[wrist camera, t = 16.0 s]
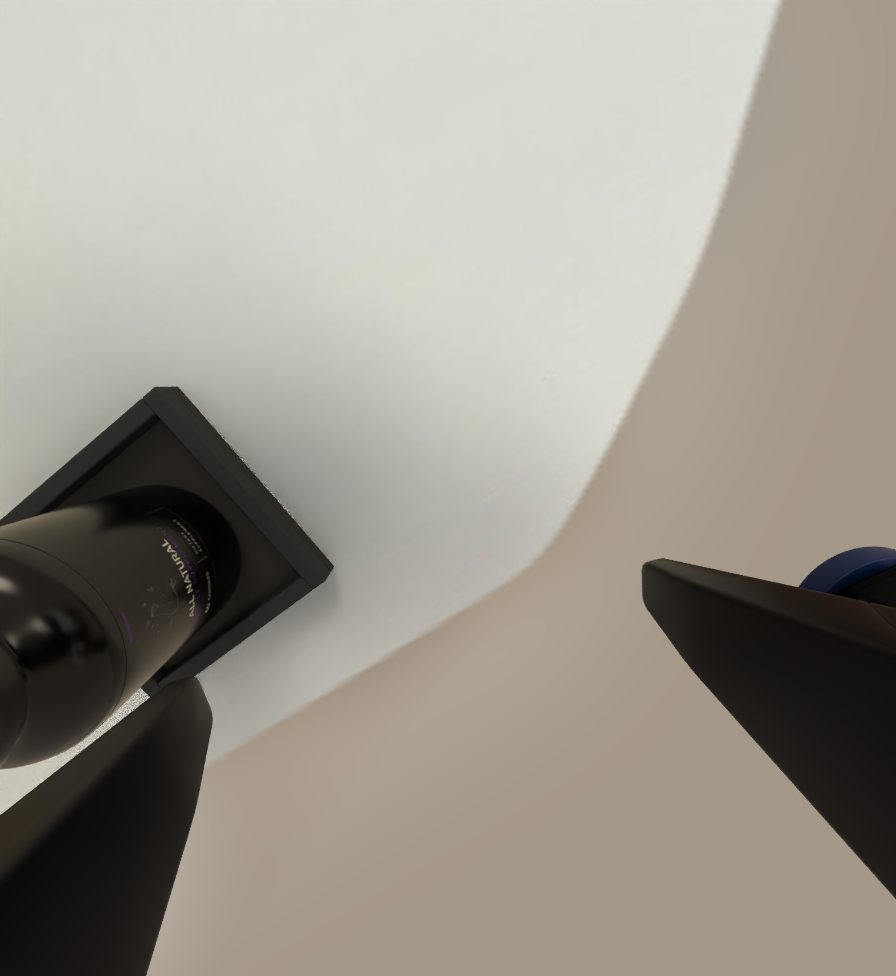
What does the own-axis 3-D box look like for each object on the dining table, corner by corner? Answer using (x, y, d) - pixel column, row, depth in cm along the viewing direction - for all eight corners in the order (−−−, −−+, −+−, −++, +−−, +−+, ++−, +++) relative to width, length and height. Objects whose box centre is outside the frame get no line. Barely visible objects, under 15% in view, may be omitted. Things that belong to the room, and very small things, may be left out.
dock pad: (334, 566, 21) (326, 580, 20) (176, 682, 23) (156, 704, 21) (178, 385, 19) (154, 385, 18) (14, 525, 21) (-21, 536, 19)
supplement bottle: (276, 547, 20) (51, 764, 9) (191, 644, 21) (-111, 954, 10) (151, 447, 19) (-300, 543, 8) (67, 556, 20) (-437, 785, 9)
